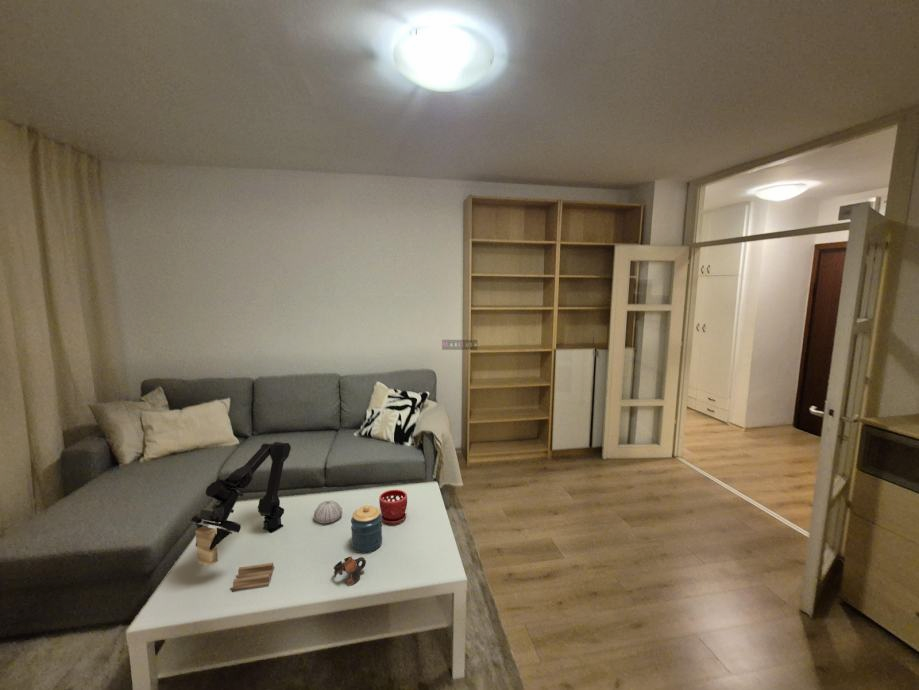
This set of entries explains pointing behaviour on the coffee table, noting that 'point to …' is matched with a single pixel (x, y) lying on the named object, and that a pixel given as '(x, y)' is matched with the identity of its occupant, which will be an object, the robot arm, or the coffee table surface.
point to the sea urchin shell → (327, 512)
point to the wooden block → (206, 546)
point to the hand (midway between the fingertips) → (203, 547)
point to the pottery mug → (350, 568)
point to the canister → (366, 529)
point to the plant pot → (393, 506)
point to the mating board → (253, 577)
